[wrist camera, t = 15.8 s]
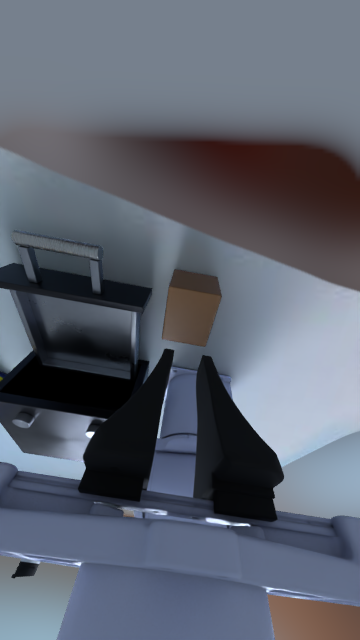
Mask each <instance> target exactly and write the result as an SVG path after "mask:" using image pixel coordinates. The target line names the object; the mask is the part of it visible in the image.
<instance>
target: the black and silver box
mask: <svg viewBox="0 0 360 640" xmlns="http://www.w3.org/2000/svg"><path fill="white" fill-rule="evenodd" d="M148 370H149V361H144V360H138V373H137V375H136V378H135V381H134V382H130V381H125V380H119V379H113V378H107V377H101V376H95V375H89V374H83V373H78V372H72V371H66V370H60V369H54V368H48V367H42V366H39V363H38V361H37V358H36V356H35V353H34V351H32V352H31V353H30V354H29V355H28V356H27V357H26V358H24V359H23V360H22V361H21V362H20V363H19V364H18V365H17V366H16V367H15V368H14V369H13V370H12V371H11V372H9V373H8V374H7V375H6V376H5V377H4V378H3V379H2V380H1V381H0V423H1V424H2V425H3V427H4V428H5V429H6V431H7V432H8V433H9V435H10V436H11V437H12V438H13V440H14V441H15V442H16V444H17V445H18V446H19V448H20V449H21V450H22V452H23V453H29V454H35V455H42V456H48V457H54V458H61V459H67V460H73V461H80V462H84V460H83V454H84V452H85V449H86V447H87V445H88V443H89V441H90V439H91V438H92V436H93V434H94V433H95V431H96V430H97V429H98V427H99V426H100V424H102V423H103V422H104V421H105V420H107V419H108V418H109V417H110V416H111V415H113V414H114V413H115V412H116V411H117V410H118V409H119V408H121V407H122V406H123V405H124V404H125V403H126V402H127V401H128V400H129V399H130V398H131V397H132V396H133V395H134V394H135V393H136V392H137V390H138V389H139V388H140V387H141V386H142V385H143V383H144V382H145V381H146V380H147V378H148Z"/></svg>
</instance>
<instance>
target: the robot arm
mask: <svg viewBox="0 0 360 640" xmlns="http://www.w3.org/2000/svg"><path fill="white" fill-rule="evenodd" d="M173 356H174V350H171V349H164V352H163V354H162V356H161V358H160V360H159V362H158V364H157V365H156V367H155V368H154V370H153V371H152V373H151V374H150V376H149V377H148V378H147V380H146V381H145V382H144V383H143V385H142V386H141V387H140V388H139V389H138V390H137V392H136V393H135V394H134V395H133V396H132V397H131V398H130V399H129V400H128V401H127V402H126V403H125V404H124V405H123V406H122V407H121V408H119V409H118V410H117V411H116V412H115V413H114V414H113V415H111V416H110V417H109V418H108V419H107V420H105V421H104V422H103V423H102V424H100V426H99V427H98V429H97V430H96V431H95V433H94V434H93V436H92V438H91V439H90V441H89V443H88V445H87V447H86V449H85V452H84V454H83V460H84V463H85V466H86V470H85V472H84V475H83V477H82V479H81V480H75V479H69V478H62V477H56V476H49V475H43V474H37V473H30V472H24V471H18V469H17V467H16V466H14V465H12V464H9V463H4V462H0V555H2V556H9V557H15V558H21V559H28V560H34V561H41V562H47V563H53V564H60V565H66V566H73V567H79V571H78V574H77V578H76V580H75V584H74V587H73V590H72V593H71V596H70V599H69V603H68V606H67V609H66V612H65V615H64V618H63V621H62V625H61V628H60V631H59V634H58V637H57V640H275V638H274V632H273V626H272V620H271V615H270V609H269V604H268V597H267V594H270V595H278V596H285V597H293V598H301V599H309V600H317V601H324V602H332V603H338V604H346V605H353V606H360V518H355V517H349V516H335V517H333V518H331V519H326V518H320V517H313V516H306V515H301V514H293V513H288V512H281V511H276V510H275V507H274V503H273V499H274V498H275V495H274V491H273V488H274V487H275V486H277V485H278V484H279V483H281V482H282V481H283V479H284V474H283V471H282V468H281V465H280V462H279V460H278V457H277V455H276V453H275V452H274V451H273V450H272V449H271V448H270V447H269V446H268V445H267V444H266V443H265V442H264V441H263V440H262V438H261V437H260V436H259V435H258V434H257V433H256V431H255V430H254V429H253V428H252V427H251V425H250V424H249V423H248V421H247V420H246V419H245V418H244V416H243V415H242V414H241V412H240V411H239V409H238V408H237V406H236V405H235V403H234V402H233V399H232V393H231V387H230V382H231V377H229V376H224V375H219V374H218V372H217V369H216V367H215V365H214V362H213V359H212V357H210V356H205V355H203V356H202V359H201V362H200V365H199V368H198V371H195V370H189V369H183V368H178V367H171V366H172V361H173ZM164 399H166V401H165V408H164V414H163V421H162V427H161V434H160V439H158V438H157V434H158V428H159V422H160V416H161V409H162V404H163V401H164ZM117 508H120V509H127V510H133V511H134V516H135V518H134V517H123V513H124V512H123V510H120V509H117Z"/></svg>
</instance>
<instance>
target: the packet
mask: <svg viewBox="0 0 360 640" xmlns="http://www.w3.org/2000/svg"><path fill="white" fill-rule="evenodd" d="M221 297H222V295H221V290H220V286H219V282H218V278H217V277H214V276H209V275H203V274H198V273H193V272H187V271H182V270H177V269H175V270H174V272H173V276H172V279H171V282H170V285H169V290H168V297H167V304H166V311H165V318H164V326H163V333H162V339H163V340H169V341H174V342H180V343H186V344H191V345H197V346H202V347H205V346H206V343H207V340H208V337H209V334H210V331H211V328H212V325H213V322H214V319H215V316H216V313H217V310H218V307H219V304H220V301H221Z"/></svg>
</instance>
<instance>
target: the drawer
mask: <svg viewBox="0 0 360 640" xmlns="http://www.w3.org/2000/svg"><path fill="white" fill-rule="evenodd" d="M11 238H12V241H13V242H14V243H15V244H16V245H19V246H18V249H19V252H20V256H21V259H22V262H23V265H21V264H16V263H12V264H9V265H7V266H4V267H1V268H0V288H4V289H9V290H10V292H11V295H12V297H13V300H14V302H15V305H16V307H17V310H18V312H19V315H20V318H21V320H22V323H23V325H24V328H25V330H26V333H27V335H28V338H29V340H30V343H31V346H32V348H33V351H34V353H35V356H36V358H37V361H38V363H39V366H42V367H48V368H54V369H60V370H66V371H72V372H78V373H83V374H89V375H95V376H101V377H107V378H113V379H119V380H125V381H130V382H134V381H135V378H136V375H137V373H138V354H139V334H140V314H141V313H143V312H144V310H145V307H146V305H147V303H148V301H149V299H150V297H151V295H152V288H146V287H141V286H135V285H130V284H125V283H119V282H114V281H108V280H103V269H102V258H103V254H104V252H103V247H102V246H100V245H94V244H89V243H84V242H79V241H73V240H68V239H63V238H57V237H52V236H47V235H41V234H36V233H31V232H26V231H20V230H14V231H13V232H12V234H11ZM34 248H35V249H41V250H46V251H51V252H57V253H62V254H68V255H73V256H78V257H84V258H89V259H90V260H89V263H90V272H91V277H87V276H81V275H76V274H70V273H65V272H59V271H54V270H49V269H43V268H39V265H38V261H37V258H36V254H35V250H34Z"/></svg>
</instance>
